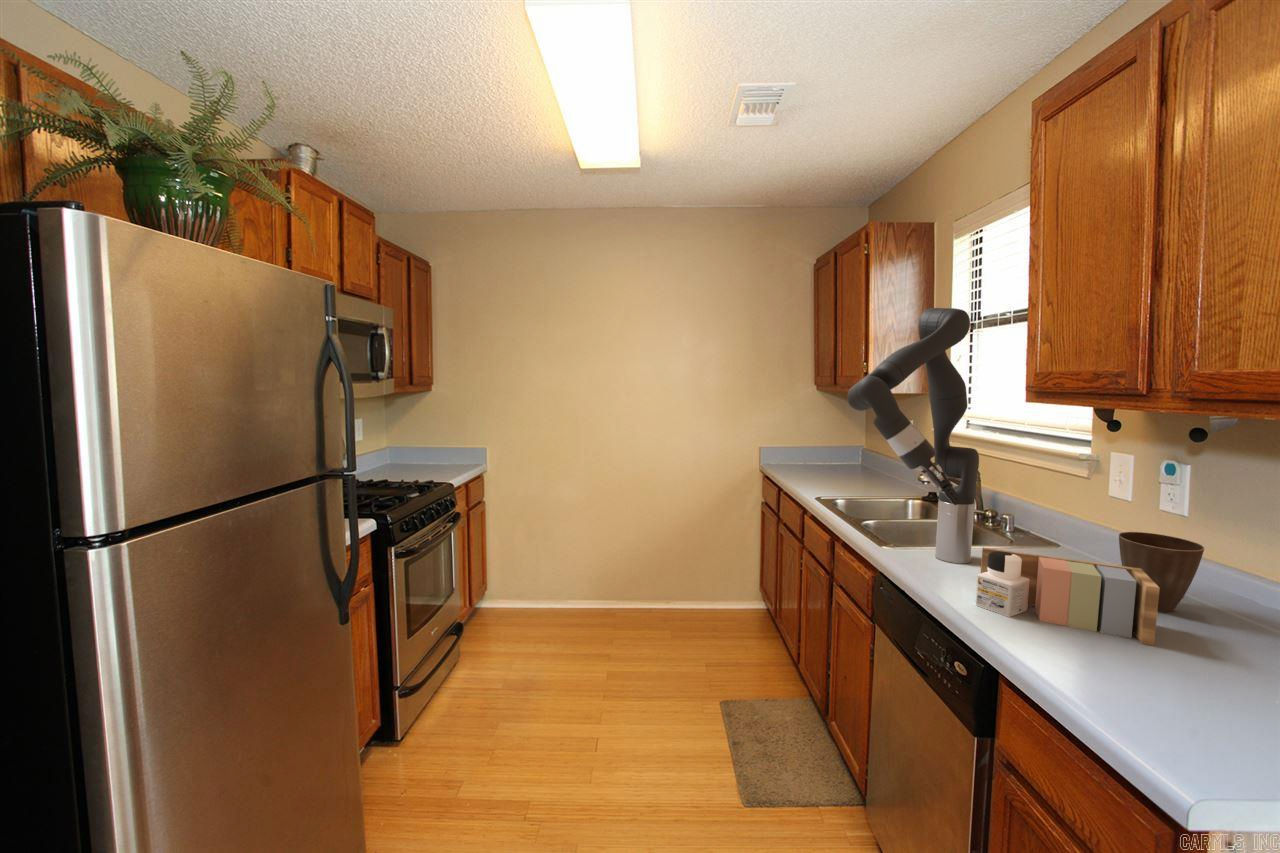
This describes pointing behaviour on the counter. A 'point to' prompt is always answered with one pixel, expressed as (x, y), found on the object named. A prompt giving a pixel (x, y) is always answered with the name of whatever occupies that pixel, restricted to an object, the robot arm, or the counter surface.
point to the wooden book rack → (1144, 585)
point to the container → (1003, 585)
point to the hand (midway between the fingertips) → (958, 502)
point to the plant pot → (1162, 563)
